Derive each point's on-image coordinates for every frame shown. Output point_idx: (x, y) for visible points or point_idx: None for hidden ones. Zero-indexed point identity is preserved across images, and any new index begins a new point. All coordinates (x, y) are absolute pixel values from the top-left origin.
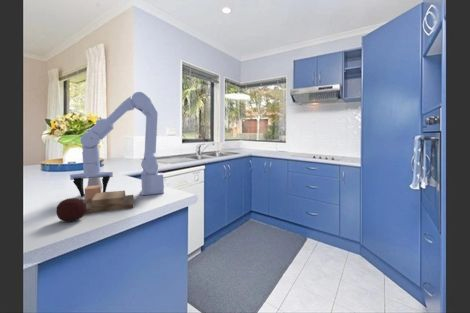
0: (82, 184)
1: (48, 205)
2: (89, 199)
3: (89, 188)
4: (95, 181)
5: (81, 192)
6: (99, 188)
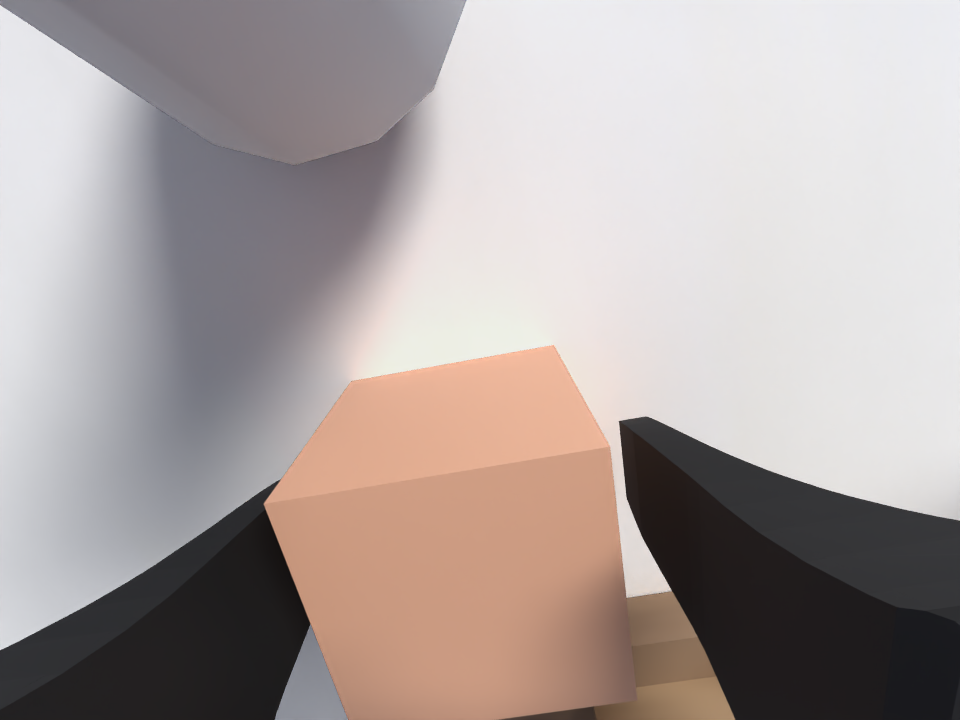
0: (182, 701)
1: (28, 630)
2: None
3: (436, 708)
4: (275, 18)
5: (295, 628)
6: (628, 658)
